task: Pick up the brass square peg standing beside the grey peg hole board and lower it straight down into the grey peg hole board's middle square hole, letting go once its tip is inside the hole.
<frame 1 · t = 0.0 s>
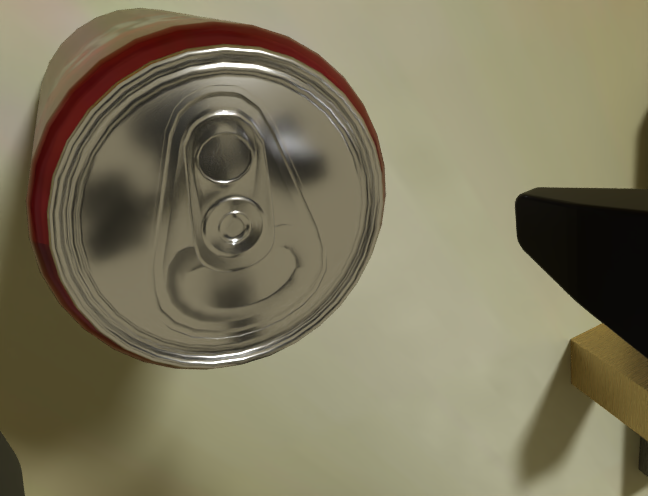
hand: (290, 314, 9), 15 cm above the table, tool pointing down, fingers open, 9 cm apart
soda can: (148, 113, 22), on the table
brass peg: (593, 350, 37), on the table
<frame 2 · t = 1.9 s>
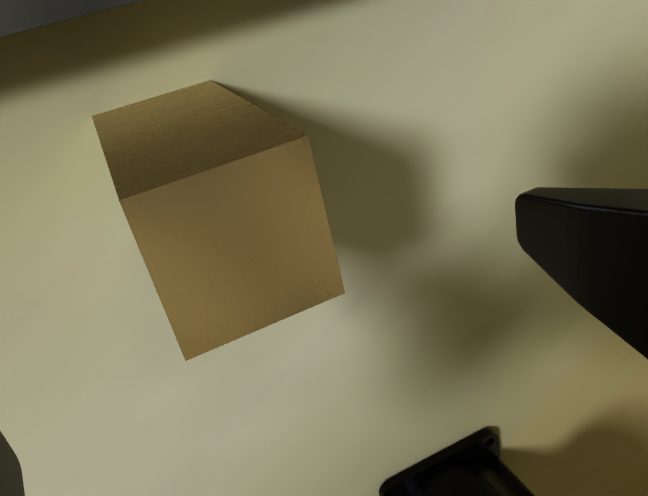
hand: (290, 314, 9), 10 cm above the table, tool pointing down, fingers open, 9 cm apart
brass peg: (172, 154, 18), on the table
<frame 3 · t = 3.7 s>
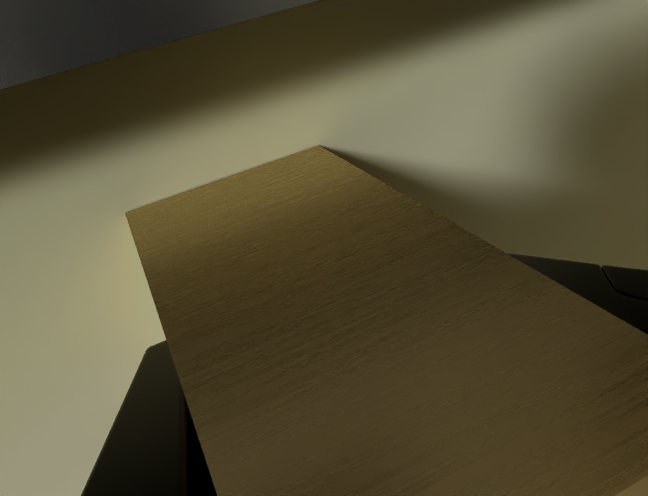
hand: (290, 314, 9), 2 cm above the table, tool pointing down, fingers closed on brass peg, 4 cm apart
brass peg: (253, 264, 11), on the table, touching gripper
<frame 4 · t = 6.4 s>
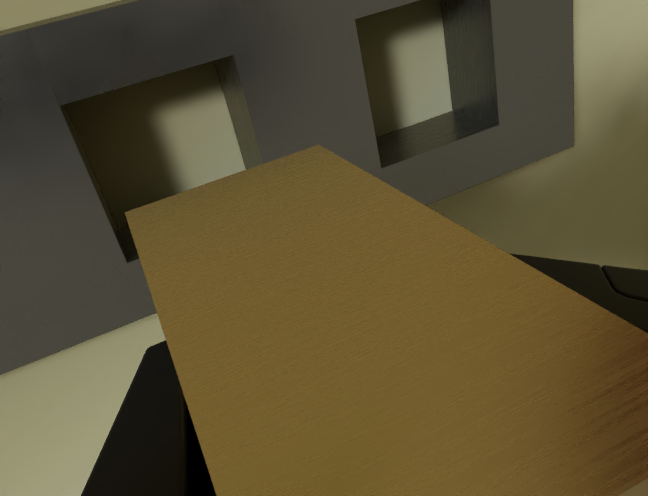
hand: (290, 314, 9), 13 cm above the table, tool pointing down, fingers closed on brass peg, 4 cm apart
brass peg: (253, 264, 11), point 11 cm above the table, touching gripper
grey peg hole board: (162, 140, 20), on the table
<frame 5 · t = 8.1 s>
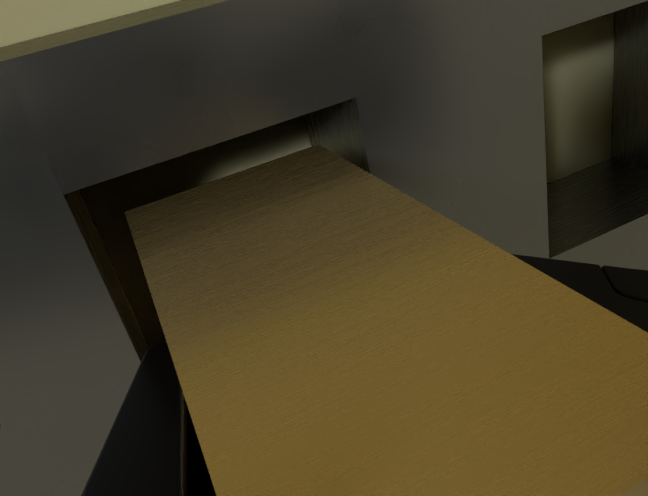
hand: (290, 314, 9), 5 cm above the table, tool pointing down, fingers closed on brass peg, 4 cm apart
brass peg: (253, 263, 11), point 3 cm above the table, touching gripper
grey peg hole board: (219, 218, 13), on the table
when the fingers open (4 cm above the table, at t = 9.3 s): brass peg drops 2 cm, resting in grey peg hole board.
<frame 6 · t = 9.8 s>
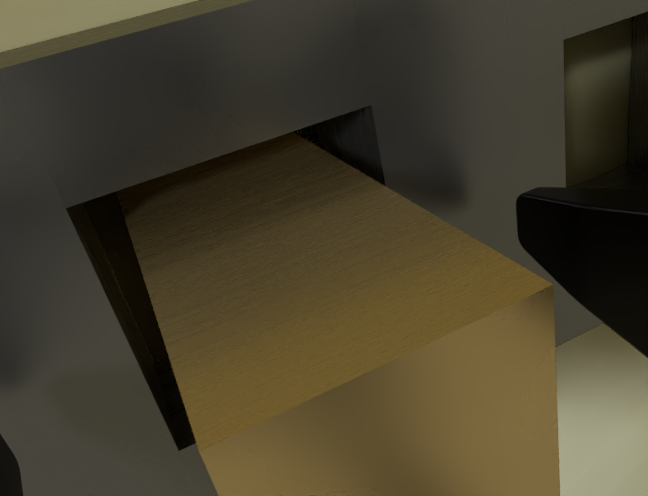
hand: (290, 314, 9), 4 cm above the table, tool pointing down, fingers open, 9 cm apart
brass peg: (225, 229, 13), resting in grey peg hole board
grey peg hole board: (226, 228, 13), on the table
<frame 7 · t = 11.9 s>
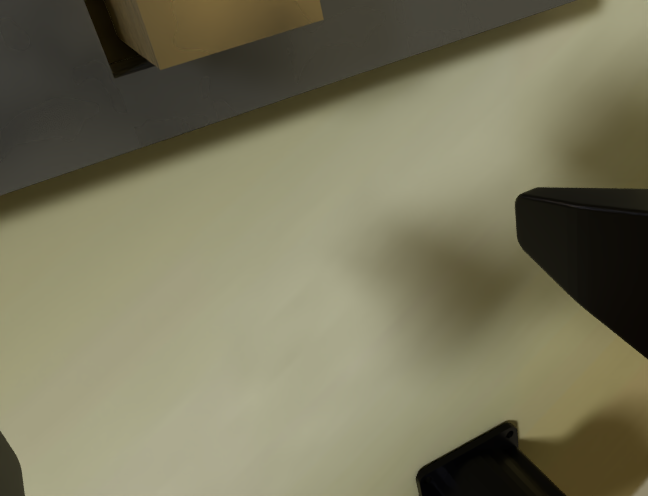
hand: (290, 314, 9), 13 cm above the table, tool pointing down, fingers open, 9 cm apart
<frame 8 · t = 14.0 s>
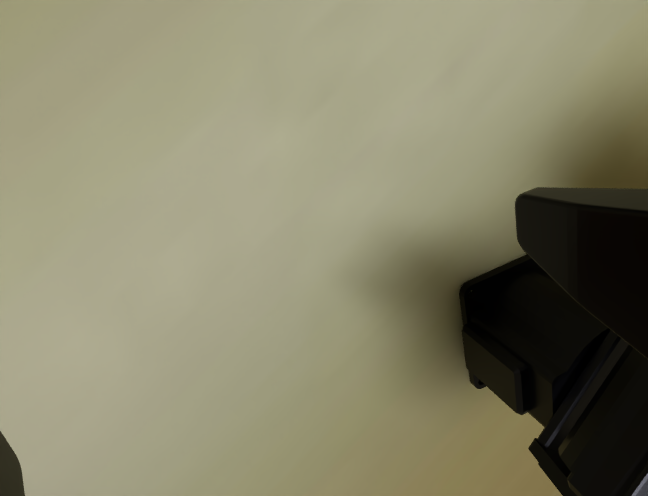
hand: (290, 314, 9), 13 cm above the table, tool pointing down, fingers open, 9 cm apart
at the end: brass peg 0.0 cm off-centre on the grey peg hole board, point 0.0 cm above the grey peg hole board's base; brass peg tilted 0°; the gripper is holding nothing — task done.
